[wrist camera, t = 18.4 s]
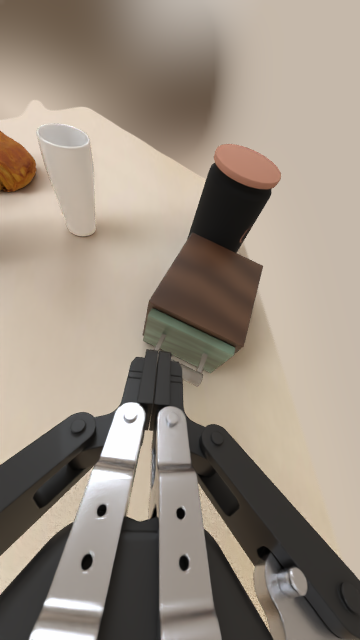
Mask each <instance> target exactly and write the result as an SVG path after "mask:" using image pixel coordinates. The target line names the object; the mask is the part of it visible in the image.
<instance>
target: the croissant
mask: <svg viewBox="0 0 360 640" xmlns="http://www.w3.org/2000/svg"><path fill="white" fill-rule="evenodd" d="M35 166H36V163H35V160H34V159H33V157H32V156H31V155H30V154H29V153H28V151H27V150H26V149H25V148H24V147H23V146H22V145H21V144H19V143H17V142H16V141H14V140H13V139H11V138H9V137H8V136H6V135H5V134H4V133H2V132H1V131H0V190H2V189H3V190H4V191H6V192H11V191H16V190H18V189H20V188H23V187H25V186H26V185H27V184H29V183H30V181H31V180H32V178H33V177H34V176H35V171H36V167H35Z"/></svg>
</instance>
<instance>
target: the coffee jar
mask: <svg viewBox="0 0 360 640" xmlns="http://www.w3.org/2000/svg"><path fill="white" fill-rule="evenodd" d="M214 160H215V163H214V164H212V166H211V168H210V170H209V173H208V176H207V179H206V182H205V185H204V189H203V192H202V195H201V198H200V201H199V204H198V208H197V211H196V214H195V217H194V220H193V223H192V226H191V230H190V233H189V236H188V238H189V237H190V235H191V233H195V234H197V235H199V236H201V237H203V238H205V239H207V240H209V241H212V242H214V243H216V244H218V245H220V246H222V247H224V248H226V249H228V250H230V251H233V252H235V253H237V251H238V249H239V248H240V246H241V244H242V243H243V241H244V239H245V238H246V236H247V234H248V233H249V231H250V229H251V227H252V226H253V224H254V223H255V221H256V219H257V218H258V216H259V214H260V213H261V211H262V209H263V208H264V206H265V204H266V203H267V201H268V199H269V198H270V196H271V189H272V188H274V187H275V186H276V185H277V184H278V182H279V181H280V179H281V173H280V171H279V169H278V168H277V166H276V165H275V164H274V163H273V162H272V161H270V160H269V159H268V158H266V157H265V156H263V155H261V154H260V153H258V152H256V151H254V150H251V149H249V148H246V147H243V146H239V145H232V144H224V145H221V146H219V147H217V149H216V151H215V155H214ZM187 240H188V239H187Z"/></svg>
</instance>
